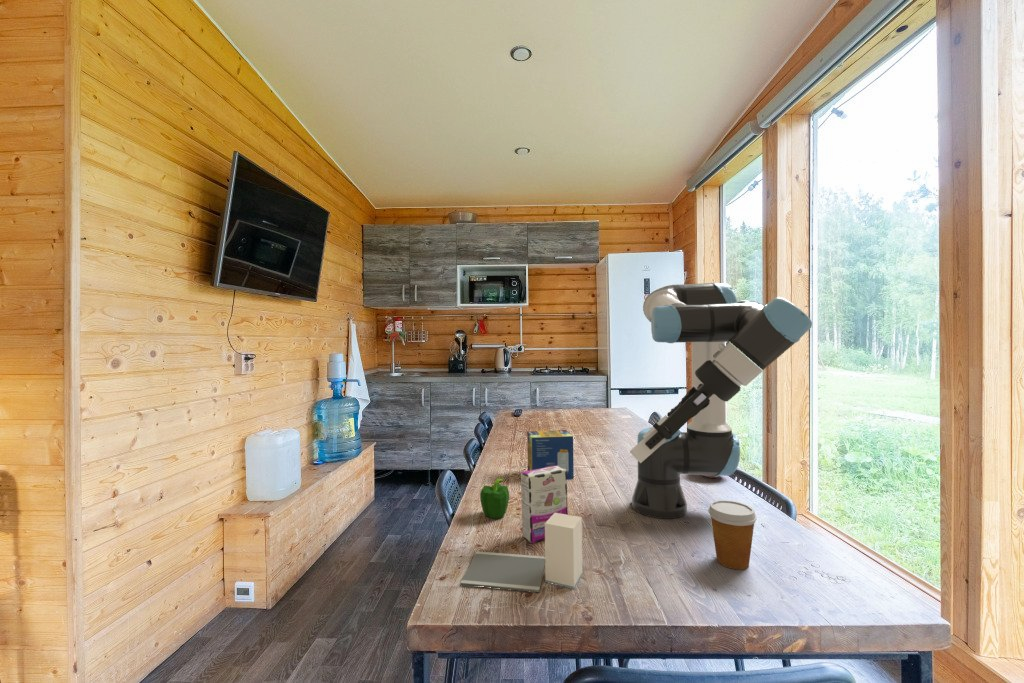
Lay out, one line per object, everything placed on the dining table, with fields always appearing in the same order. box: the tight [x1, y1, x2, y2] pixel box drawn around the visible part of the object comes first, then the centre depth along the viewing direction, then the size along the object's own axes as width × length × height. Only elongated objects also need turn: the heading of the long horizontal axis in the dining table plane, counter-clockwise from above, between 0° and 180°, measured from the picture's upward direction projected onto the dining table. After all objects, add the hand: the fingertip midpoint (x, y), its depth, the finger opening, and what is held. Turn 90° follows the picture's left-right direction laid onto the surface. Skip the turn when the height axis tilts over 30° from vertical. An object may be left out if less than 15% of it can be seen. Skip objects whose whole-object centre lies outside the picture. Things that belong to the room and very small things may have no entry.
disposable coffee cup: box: [707, 499, 758, 570], centre depth 94 cm, size 10×10×12 cm
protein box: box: [526, 429, 575, 480], centre depth 156 cm, size 10×15×16 cm
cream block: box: [544, 513, 584, 590], centre depth 88 cm, size 6×6×12 cm
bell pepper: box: [479, 478, 510, 520], centre depth 121 cm, size 8×8×10 cm
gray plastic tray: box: [459, 551, 545, 593], centre depth 91 cm, size 16×13×1 cm
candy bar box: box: [520, 466, 569, 544], centre depth 108 cm, size 11×5×16 cm, turn 118°
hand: (641, 448), depth 84 cm, fingers open, 13 cm apart
